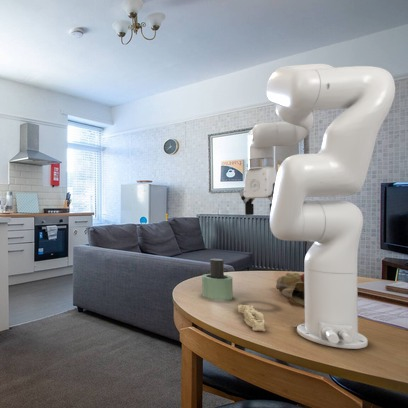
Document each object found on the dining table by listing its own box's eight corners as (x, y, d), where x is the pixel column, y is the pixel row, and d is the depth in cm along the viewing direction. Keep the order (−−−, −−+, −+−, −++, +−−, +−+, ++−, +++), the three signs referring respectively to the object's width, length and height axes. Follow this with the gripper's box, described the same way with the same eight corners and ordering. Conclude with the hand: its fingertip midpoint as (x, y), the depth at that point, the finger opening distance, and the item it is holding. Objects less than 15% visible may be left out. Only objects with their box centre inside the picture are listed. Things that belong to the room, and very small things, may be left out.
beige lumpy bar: (270, 333, 78) (270, 318, 78) (253, 332, 79) (253, 317, 79) (245, 310, 95) (245, 298, 95) (231, 309, 96) (231, 297, 96)
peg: (223, 298, 105) (223, 260, 106) (210, 296, 107) (209, 260, 107) (224, 295, 109) (223, 259, 109) (211, 293, 111) (210, 258, 111)
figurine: (283, 280, 97) (275, 265, 115) (282, 310, 97) (273, 290, 115) (347, 288, 90) (327, 270, 108) (345, 319, 91) (326, 297, 109)
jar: (232, 303, 102) (232, 280, 102) (201, 299, 106) (200, 278, 106) (232, 296, 110) (232, 275, 110) (203, 293, 114) (203, 272, 114)
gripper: (232, 167, 119) (232, 214, 119) (275, 161, 103) (276, 216, 103) (248, 168, 121) (248, 214, 121) (293, 162, 105) (294, 215, 105)
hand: (261, 215), depth 112 cm, fingers open, 9 cm apart
